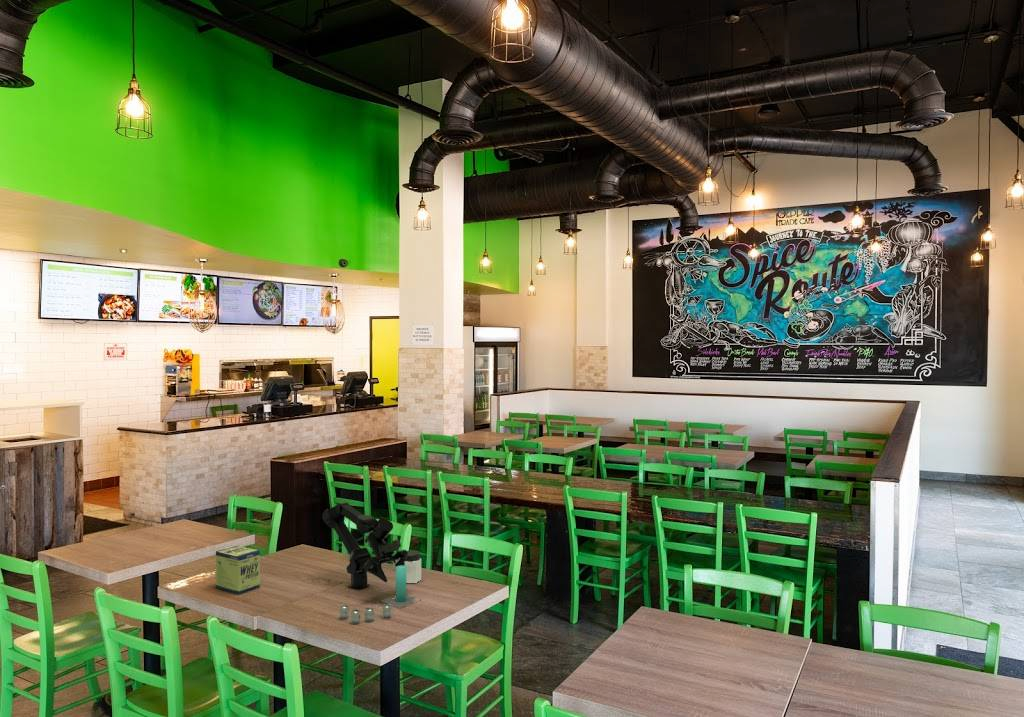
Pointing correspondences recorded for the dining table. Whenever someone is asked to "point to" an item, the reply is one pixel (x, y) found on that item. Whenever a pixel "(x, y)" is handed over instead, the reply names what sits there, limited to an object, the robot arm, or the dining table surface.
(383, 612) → the spacer posts
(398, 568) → the teal dowel
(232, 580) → the protein box
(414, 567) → the jar
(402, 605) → the mat
